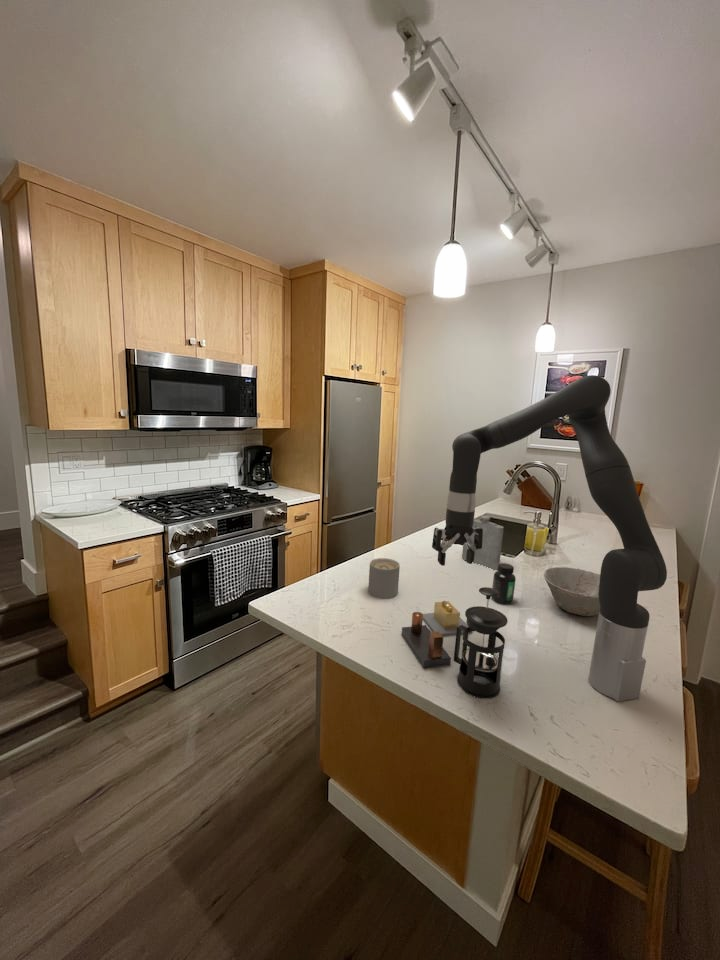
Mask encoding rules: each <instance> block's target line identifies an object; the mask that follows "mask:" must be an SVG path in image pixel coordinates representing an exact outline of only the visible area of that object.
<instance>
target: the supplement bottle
mask: <svg viewBox="0 0 720 960" xmlns="http://www.w3.org/2000/svg"><path fill="white" fill-rule="evenodd" d="M514 568H515V566H513V565H512V564H509V563H505V562H504V563H503V562H501V563H500V564H498V568H497V571H495V572H494V573H493V577H492V578H493V580H492V587H491V588H492V589H495V590H497V591H498V592H499V595H498V596H494V597H491V598H490V599H491V600H493V602H495V603H497V604H499V603H500V604H501V605H511V604H512V603H513V602H514V597H515V596H514V594H515V590H516V589H515V588H516V581H517V578H516V575H515V574H514Z"/></svg>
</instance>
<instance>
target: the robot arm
mask: <svg viewBox="0 0 720 960" xmlns="http://www.w3.org/2000/svg"><path fill="white" fill-rule="evenodd" d="M611 390H612V389H611V386H610V383H609V382H608V380H606V379H605V378H604V377H602V376H599V375H595V374H591V375H585V376H582V377H579V378H577V379H576V380H574V381H572V382H570V383H569V384H567V385H565V386H564V387H563V388H561V389H559V390H557V391H556V392H553V393H552V394H550V395H548V396H546V397H545V398H543V399H541V400H540V401H537V402H535V403H533V404H532V405H528V406H527V407H525V408H523V409H521V410H518V411H515V412H514V413H511V414H509V415H507V416H504V417H502V418H500V419H498V420H495V421H492V422H491V423H488V424H487V425H484V426H481V427H479V428H475V429H473V430H470V431H469V430H468V431H467V432H464V433H462V434H459V435H458V436H456V438H454V439H453V442H452V447H451V448H452V469H451V473H450V477H449V478H450V479H449V486H448V487H449V489H448V494H447V500H446V513H445V527H444V528H438V527H435V528H434V530H433V537H432V544H431V548H432V549H433V550H435V551H436V552H438V553H437V562H438V564H439V565H441V566H442V567H444V566H445V565H446V555H447V553H446V552H447V551H448V549H449V548H452V546H453V545H459V544H460V545H463V544H464V543H465V544H466V545H467V547H468V548H469V549H467V556H466V561H465V562H466V563H467V564H468V565H472V564H473V563H472V562H473V561H474V555H475V551H476V550H477V549H481V548H482V538H483V529H481V528H480V527H478V526H475V528H473V527H472V526H473V524H474V519H475V514H476V513H475V512H476V502H477V498H476V497H477V496H476V492H477V483H478V482H477V480H478V470H479V466H480V461H481V454H483V453H486V452H488V451H490V450H493V449H501V448H505V447H506V446H509V445H511V444H513V443H516V442H519V441H521V440H523V439H525V438H527V437H529V436H531V435H533V434H534V433H535V432H537V431H539V430H540V429H542V428H543V427H544V426H546V425H548V424H550V423H551V422H553V421H555V420H557V419H560V418H562V417H564V416H567V417H568V419H569V422H570V424H571V427H572V428H573V430H574V434H575V436H576V439H577V441H578V447H579V451H580V456H581V457H580V458H581V460H582V461H581V462H582V466H583V471H584V474H585V480H586V482H587V486H588V490H589V493H590V496H591V497H592V499H593V501H594V503H596V505H597V506H598V507H599V509H600V510H601V511H602V512H603V513H604V515H606V516H607V518H608V519H609V520H610V521H611V522H612V525H614V527H615V529H616V530H617V531H618V534H619V537H620V539H621V542H622V546H623V548H615V549H611V550H609V551H608V552H607V553H606V554H605V555H604V557H603V559H602V562H601V566H600V573H599V574H600V582H599V592H598V597H599V602H600V612H599V613H598V618H597V624H596V630H595V636H594V641H593V648H592V653H591V660H590V666H589V667H590V668H589V674H588V683H589V684H590V685H591V686H592V688H594V690H596V691H597V692H599V693H601V694H602V695H604V696H606V697H609V698H611V699H613V700H614V701H616V702H617V703H618V702H624V701H629V700H635V699H639V698H640V694H641V689H642V683H643V678H644V673H645V669H646V663H647V660H646V658H644V657H643V652H644V648H645V641H646V637H647V632H648V627H649V622H650V617H651V616H650V612H649V611H648V609H647V608H645V607H644V606H643V605H641V604H639V603H638V595H639V592H646V591H654V590H659V589H661V588H662V587H663V586H664V585H665V583H666V581H667V578H668V577H667V576H668V569H667V565H666V562H665V559H664V557H663V554H662V551H661V549H660V547H659V545H658V543H657V540H656V538H655V536H654V534H653V531H652V530H651V527H650V523H649V522H648V520H647V517H646V514H645V513H646V512H645V510H644V508H643V505H642V502H641V499H640V496H639V493H638V490H637V487H636V482H635V479H634V476H633V472H632V470H631V467H630V464H629V461H628V459H627V458H626V456H625V454H624V453H623V451H622V449H621V448H620V447H619V445H618V444H617V443H616V442H615V440H614V438H613V437H612V435H611V432H610V429H609V426H608V421H607V416H606V406H607V404H608V402H609V400H610V397H611V393H612V392H611ZM472 534H474V543H473V542H472V540H471V538H470V536H471V535H472Z"/></svg>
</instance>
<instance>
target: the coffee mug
mask: <svg viewBox="0 0 720 960" xmlns="http://www.w3.org/2000/svg"><path fill="white" fill-rule="evenodd" d="M400 565H401V564H400V562H398V560H395V559H392V558H387V557H380V558H373V559H371V560H370V562H369V569H368V572H369V574H368V588H367V589H368V593H369V595H371V596H372V597H375V598H378V599H383V600H385V599H392V598H395V597H397V596H398V594H399V581H400V568H401V566H400Z"/></svg>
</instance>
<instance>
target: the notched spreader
mask: <svg viewBox="0 0 720 960" xmlns="http://www.w3.org/2000/svg"><path fill="white" fill-rule="evenodd" d="M475 526H478V527H480V528H481V529H483V538H482V548H481V549H477V550H476V551H475V555H474V561H473V563H472V564H475V563H477V564H476V565H478V564H480V565H479V566H481V565H483V566H482V567H484V566H486V567H485V568H487V567H488V568H487V569H489V568H491V569H493V570H492V571H495V570H497V568H498V564H500V562H501V553H502V545H503V537H504V536H503V535H504V526H503V525H499V524H497V523H494V522H491V516H488V515H481V516H480V519H475V518H474V524H473V526H472V527H473V528H475ZM470 538H471V540H472V542H473V543H474V534H472V535H471V536H470ZM467 549H469V548H468V547H467V545H466V544H465V543H464V544H462V553H461V560H462V559H463V560H466V556H467ZM463 560H462V561H463ZM491 569H490V570H491ZM497 571H498V570H497Z"/></svg>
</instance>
